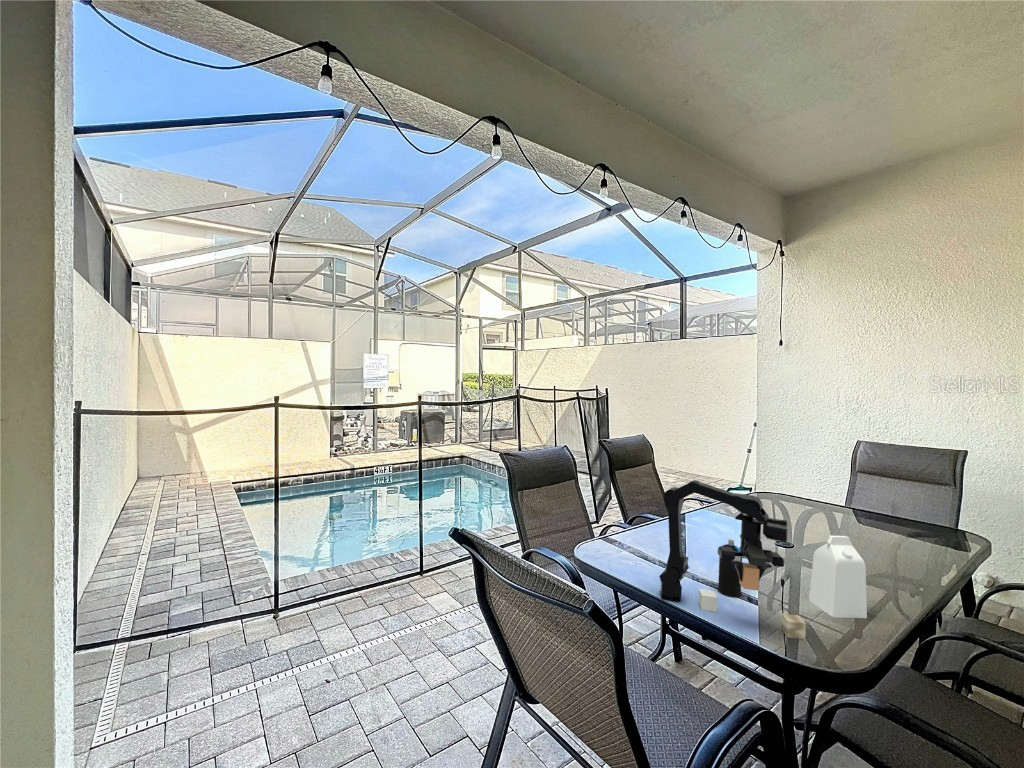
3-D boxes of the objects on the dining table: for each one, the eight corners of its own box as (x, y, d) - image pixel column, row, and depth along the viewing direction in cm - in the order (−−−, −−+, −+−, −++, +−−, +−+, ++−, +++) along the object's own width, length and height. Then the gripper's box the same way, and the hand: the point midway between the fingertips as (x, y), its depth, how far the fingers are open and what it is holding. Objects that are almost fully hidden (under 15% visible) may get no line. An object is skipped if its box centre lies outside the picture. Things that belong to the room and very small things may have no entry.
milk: (840, 601, 159) (842, 531, 159) (866, 618, 147) (869, 542, 148) (808, 600, 158) (811, 530, 159) (833, 617, 147) (835, 541, 147)
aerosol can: (715, 593, 161) (717, 540, 161) (719, 585, 168) (721, 534, 168) (740, 599, 157) (742, 545, 157) (742, 591, 163) (744, 539, 164)
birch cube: (787, 637, 133) (787, 621, 134) (780, 628, 138) (781, 613, 138) (805, 640, 132) (805, 623, 132) (798, 631, 137) (798, 615, 137)
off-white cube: (701, 609, 148) (702, 595, 148) (698, 603, 153) (699, 589, 153) (717, 612, 147) (717, 597, 147) (713, 605, 152) (713, 591, 152)
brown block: (743, 588, 140) (744, 567, 140) (739, 582, 145) (740, 562, 145) (758, 590, 139) (759, 569, 139) (753, 584, 144) (754, 563, 144)
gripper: (727, 539, 136) (725, 588, 136) (792, 547, 132) (790, 597, 132) (718, 528, 147) (716, 574, 147) (778, 535, 143) (776, 581, 143)
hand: (748, 581), depth 142 cm, fingers closed on brown block, 4 cm apart
